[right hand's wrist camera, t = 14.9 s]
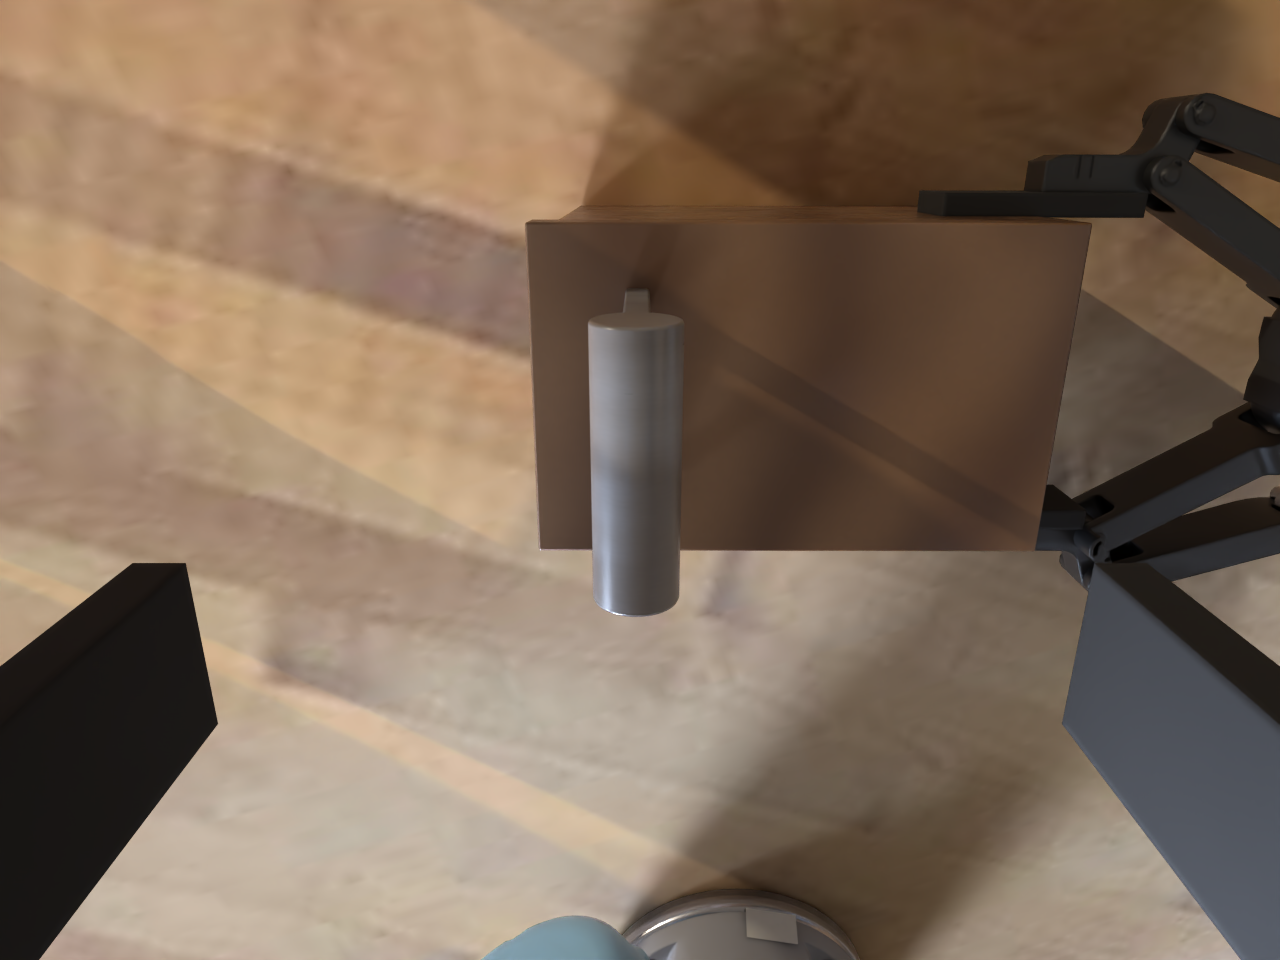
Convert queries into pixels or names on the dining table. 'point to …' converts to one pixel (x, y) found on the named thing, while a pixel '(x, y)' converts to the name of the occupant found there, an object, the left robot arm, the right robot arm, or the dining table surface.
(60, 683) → the right robot arm
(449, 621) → the dining table surface
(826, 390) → the lid
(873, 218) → the chest
